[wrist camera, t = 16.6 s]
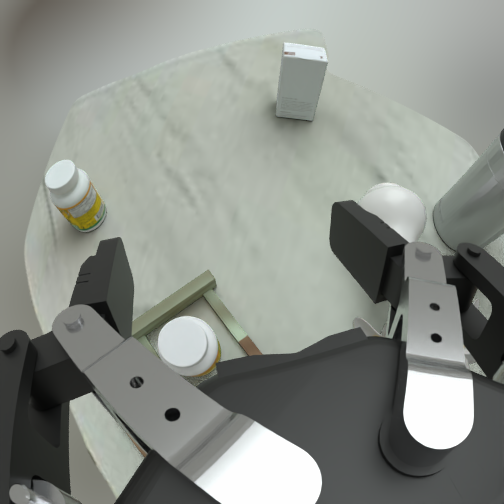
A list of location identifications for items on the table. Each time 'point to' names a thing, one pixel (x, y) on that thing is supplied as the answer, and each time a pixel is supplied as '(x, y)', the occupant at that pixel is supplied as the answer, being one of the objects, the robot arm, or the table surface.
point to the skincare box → (300, 81)
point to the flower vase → (398, 229)
